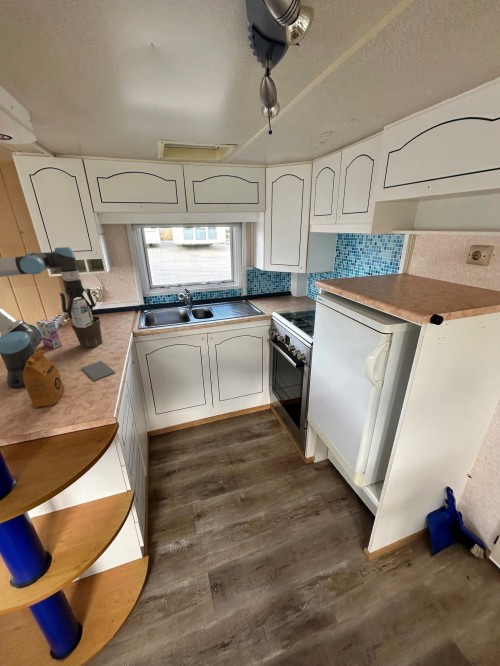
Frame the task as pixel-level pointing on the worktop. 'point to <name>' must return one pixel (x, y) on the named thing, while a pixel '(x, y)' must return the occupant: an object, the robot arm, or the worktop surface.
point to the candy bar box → (49, 334)
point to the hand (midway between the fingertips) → (83, 321)
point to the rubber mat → (97, 370)
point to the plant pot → (89, 334)
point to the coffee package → (42, 380)
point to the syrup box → (81, 313)
